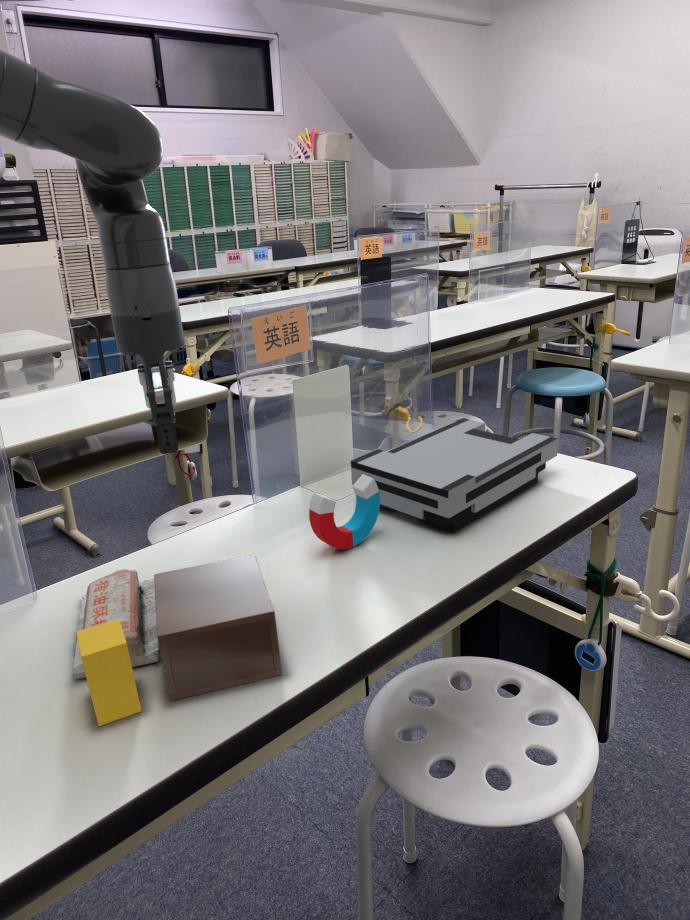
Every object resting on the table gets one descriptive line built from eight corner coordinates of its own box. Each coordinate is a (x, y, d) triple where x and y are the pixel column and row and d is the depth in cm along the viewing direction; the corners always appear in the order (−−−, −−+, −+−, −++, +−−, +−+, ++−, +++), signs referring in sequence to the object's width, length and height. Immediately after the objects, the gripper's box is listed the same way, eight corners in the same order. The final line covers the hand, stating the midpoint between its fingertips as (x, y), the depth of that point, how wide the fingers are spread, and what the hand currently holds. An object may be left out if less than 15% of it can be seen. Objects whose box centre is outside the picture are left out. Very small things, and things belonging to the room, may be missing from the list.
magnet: (371, 528, 110) (368, 471, 107) (382, 534, 108) (379, 476, 105) (312, 554, 104) (306, 494, 100) (322, 560, 102) (317, 500, 98)
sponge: (98, 726, 72) (81, 656, 69) (92, 698, 77) (75, 631, 73) (141, 711, 74) (126, 642, 71) (133, 684, 78) (118, 618, 75)
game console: (556, 474, 126) (558, 432, 123) (449, 539, 105) (448, 491, 102) (463, 450, 140) (463, 412, 137) (353, 504, 119) (350, 460, 116)
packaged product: (154, 629, 80) (64, 649, 77) (161, 663, 82) (73, 683, 79) (151, 557, 96) (76, 572, 94) (156, 587, 98) (84, 602, 95)
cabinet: (165, 632, 88) (154, 573, 84) (262, 611, 90) (255, 554, 87) (170, 701, 75) (157, 636, 72) (282, 674, 78) (274, 611, 75)
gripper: (111, 303, 82) (137, 439, 88) (108, 319, 70) (138, 476, 76) (175, 296, 84) (196, 430, 90) (182, 311, 72) (205, 465, 78)
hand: (169, 451), depth 83 cm, fingers closed
